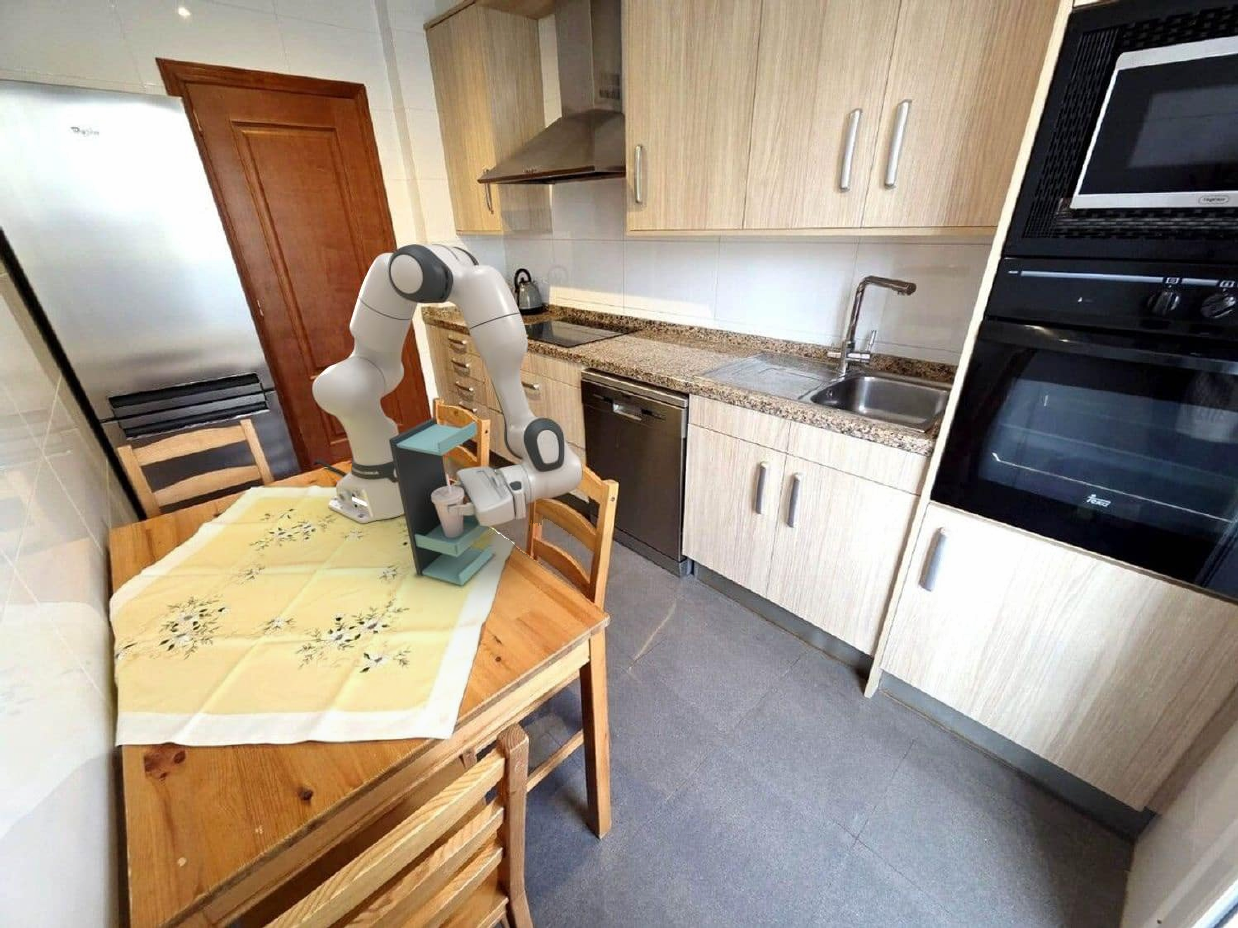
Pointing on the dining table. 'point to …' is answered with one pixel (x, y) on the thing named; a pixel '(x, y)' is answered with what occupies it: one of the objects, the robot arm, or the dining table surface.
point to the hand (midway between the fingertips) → (444, 502)
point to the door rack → (417, 481)
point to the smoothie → (442, 500)
